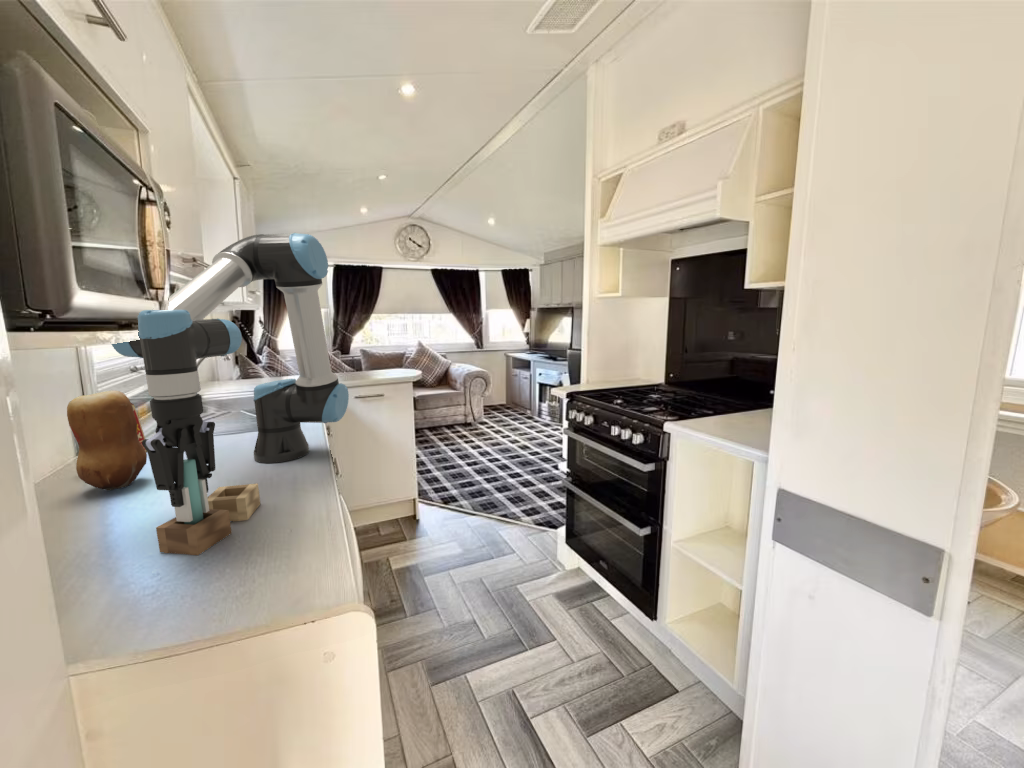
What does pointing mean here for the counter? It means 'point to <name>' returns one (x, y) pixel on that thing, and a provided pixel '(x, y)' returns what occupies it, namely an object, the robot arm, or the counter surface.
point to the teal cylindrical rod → (193, 490)
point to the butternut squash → (106, 440)
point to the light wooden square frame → (236, 500)
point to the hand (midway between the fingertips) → (193, 515)
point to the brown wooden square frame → (194, 533)
